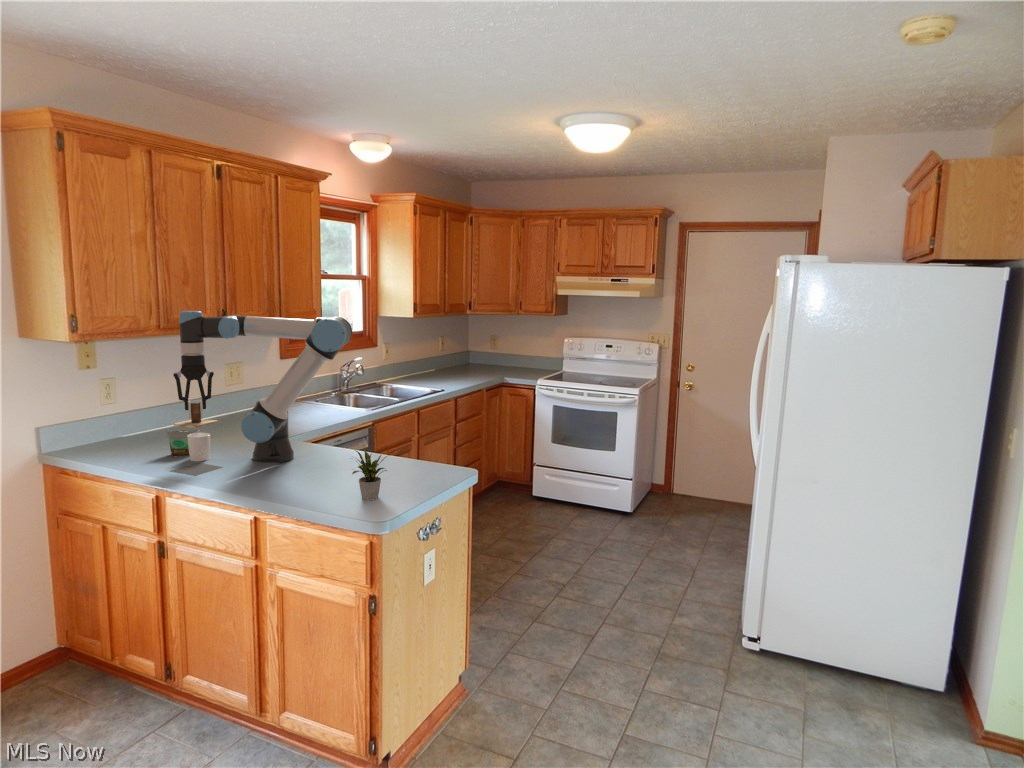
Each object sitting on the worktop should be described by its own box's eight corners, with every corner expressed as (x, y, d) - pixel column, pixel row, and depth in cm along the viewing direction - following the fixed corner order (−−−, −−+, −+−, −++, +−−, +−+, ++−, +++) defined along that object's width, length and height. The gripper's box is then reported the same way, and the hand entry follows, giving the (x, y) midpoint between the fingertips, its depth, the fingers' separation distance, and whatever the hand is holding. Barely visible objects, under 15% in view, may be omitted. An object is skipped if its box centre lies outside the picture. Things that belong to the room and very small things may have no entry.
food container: (163, 458, 253) (162, 433, 251) (167, 454, 259) (166, 429, 257) (198, 457, 256) (197, 431, 254) (201, 453, 262) (200, 428, 260)
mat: (223, 468, 241) (223, 467, 241) (195, 477, 230) (195, 475, 230) (198, 464, 246) (198, 462, 246) (169, 472, 235) (169, 471, 234)
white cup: (185, 460, 251) (184, 434, 250) (206, 456, 257) (205, 431, 255) (192, 464, 246) (191, 438, 244) (214, 460, 251) (213, 435, 250)
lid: (218, 422, 243) (217, 401, 241) (196, 428, 233) (195, 406, 232) (196, 420, 246) (195, 399, 245) (173, 425, 236) (172, 404, 235)
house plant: (334, 498, 211) (333, 449, 209) (364, 488, 223) (364, 441, 221) (367, 507, 204) (367, 456, 202) (396, 496, 216) (397, 447, 213)
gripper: (217, 352, 242) (220, 415, 246) (167, 353, 236) (171, 418, 239) (217, 354, 236) (220, 418, 239) (166, 356, 229) (170, 422, 232)
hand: (196, 418), depth 239 cm, fingers closed on lid, 3 cm apart
